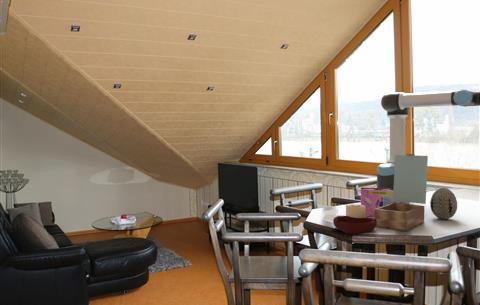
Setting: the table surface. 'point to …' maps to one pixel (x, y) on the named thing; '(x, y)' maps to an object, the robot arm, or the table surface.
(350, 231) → the dark red bean shape
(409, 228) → the chest
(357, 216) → the beige rounded cone
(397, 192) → the lid
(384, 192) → the gum box
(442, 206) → the decorative egg
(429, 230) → the table surface
